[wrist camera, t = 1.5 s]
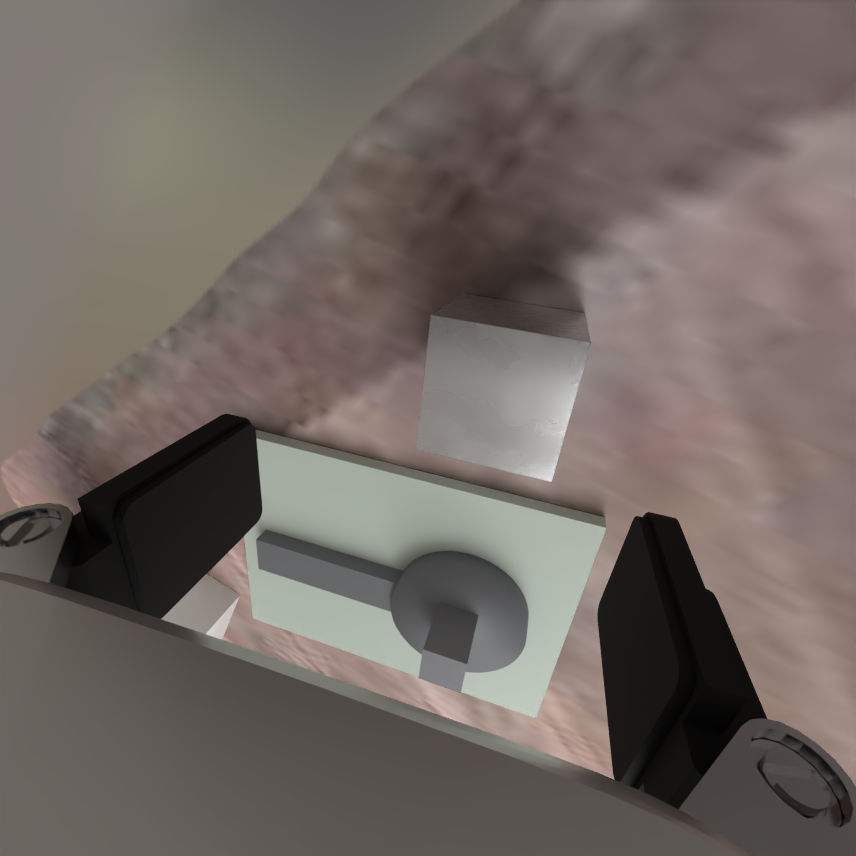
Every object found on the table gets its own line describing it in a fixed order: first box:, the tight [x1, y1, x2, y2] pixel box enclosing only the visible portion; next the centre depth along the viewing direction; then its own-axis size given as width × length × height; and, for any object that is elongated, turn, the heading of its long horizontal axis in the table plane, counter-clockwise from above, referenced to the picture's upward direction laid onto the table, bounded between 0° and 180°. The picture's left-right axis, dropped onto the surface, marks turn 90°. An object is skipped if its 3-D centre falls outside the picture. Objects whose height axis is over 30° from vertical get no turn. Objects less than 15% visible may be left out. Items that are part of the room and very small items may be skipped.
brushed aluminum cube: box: [416, 294, 591, 482], centre depth 20 cm, size 6×6×6 cm
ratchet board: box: [244, 430, 606, 718], centre depth 29 cm, size 24×18×6 cm
